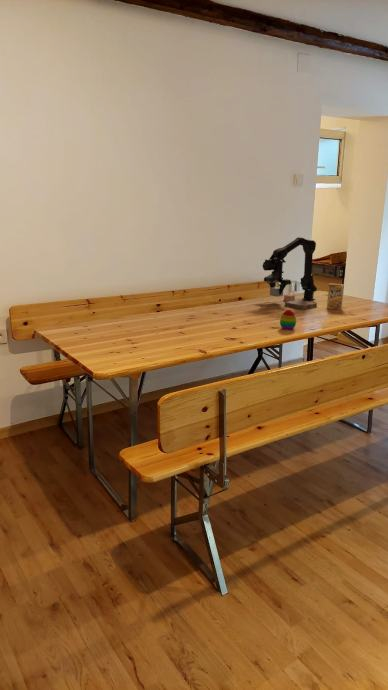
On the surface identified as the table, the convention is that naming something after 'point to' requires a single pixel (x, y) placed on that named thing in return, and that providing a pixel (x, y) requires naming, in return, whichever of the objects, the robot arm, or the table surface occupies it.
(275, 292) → the grey block
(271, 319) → the table surface
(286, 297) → the terracotta cube
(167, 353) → the table surface
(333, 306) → the candy box
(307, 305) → the walnut plinth
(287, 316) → the decorative egg
